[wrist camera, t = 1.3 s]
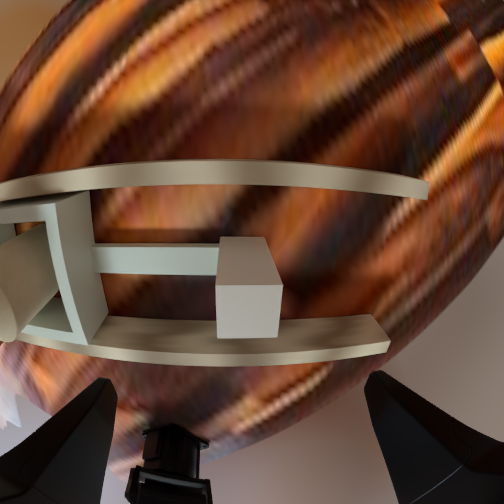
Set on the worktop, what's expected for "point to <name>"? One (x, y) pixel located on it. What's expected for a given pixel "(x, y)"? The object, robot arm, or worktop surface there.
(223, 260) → the square frame with handle
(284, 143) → the worktop surface
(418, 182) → the channel
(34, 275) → the candle
